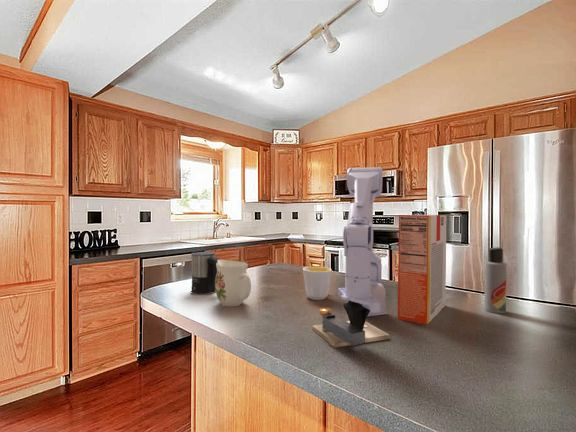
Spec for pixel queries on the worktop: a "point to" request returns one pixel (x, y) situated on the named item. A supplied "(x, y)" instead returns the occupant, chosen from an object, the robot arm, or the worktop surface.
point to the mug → (317, 282)
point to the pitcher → (232, 282)
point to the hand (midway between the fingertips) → (357, 334)
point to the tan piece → (370, 335)
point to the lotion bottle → (495, 282)
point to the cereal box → (421, 267)
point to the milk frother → (203, 272)
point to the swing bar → (342, 328)
